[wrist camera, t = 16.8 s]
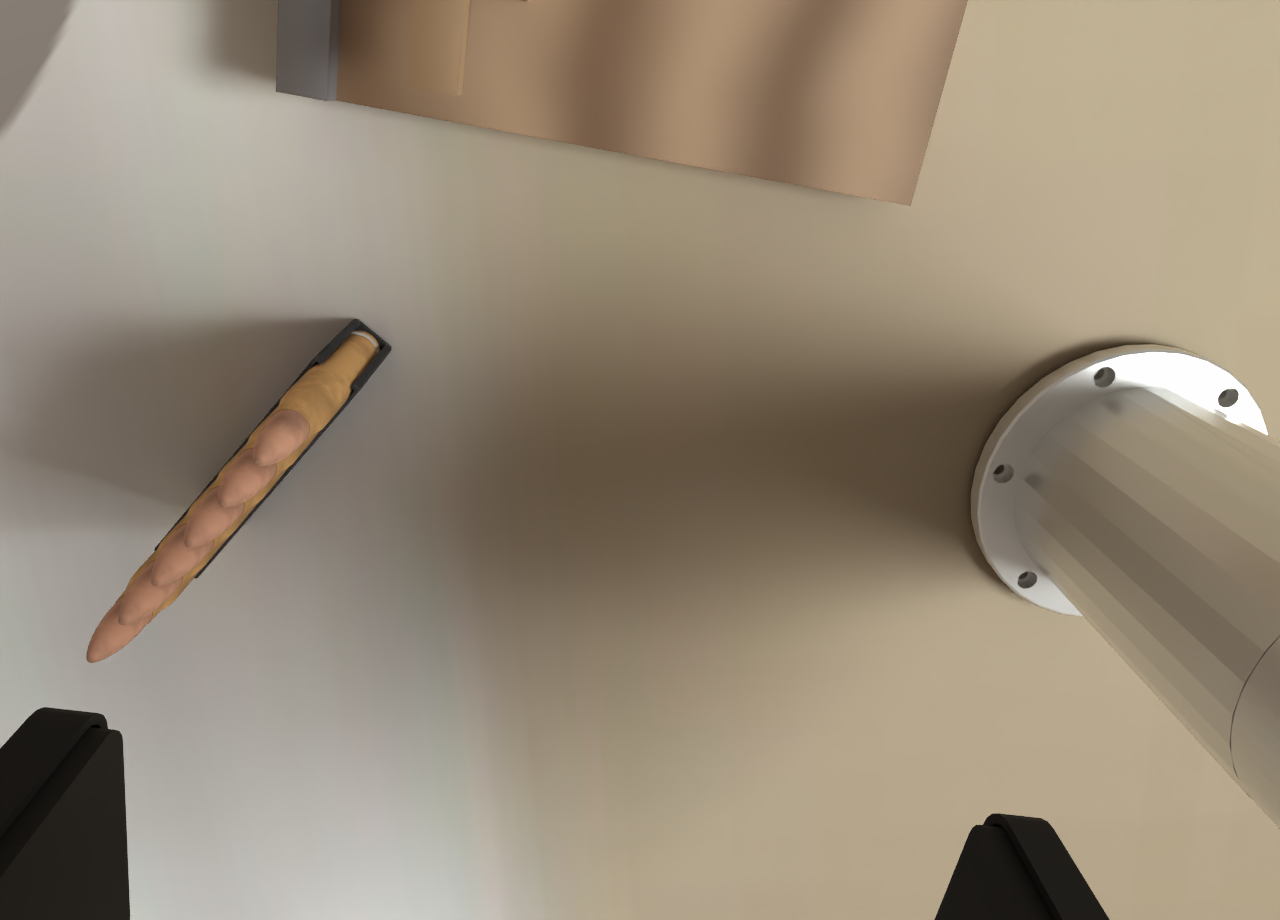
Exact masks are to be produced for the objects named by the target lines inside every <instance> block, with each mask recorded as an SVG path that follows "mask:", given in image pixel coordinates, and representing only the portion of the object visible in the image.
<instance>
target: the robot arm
mask: <svg viewBox="0 0 1280 920" xmlns="http://www.w3.org/2000/svg"><path fill="white" fill-rule="evenodd" d="M1097 371H1098V373H1097V374H1096V372H1097ZM1095 374H1096V375H1095ZM998 466H999V468H998V469H996V468H997V467H998ZM995 469H996V470H995ZM971 520H972V524H973V528H974V532H975V536H976V541H977V543H978V545H979V547H980V549H981V551H982V553H983V555H984V557H985V559H986V561H987V562H988V563H989V565H990V566H991V567H992V568H993V570H994V571H995V572H996V573H997V575H998V576H999V577H1000V579H1001V580H1002V581H1003V582H1004V583H1005V584H1006V585H1007V586H1008V587H1009V588H1010V589H1011V590H1012V591H1013V592H1015V593H1016V594H1017V595H1019V596H1021V597H1022V598H1024V599H1026V600H1027V601H1029V602H1031V603H1033V604H1034V605H1036V606H1038V607H1041V608H1044V609H1047V610H1050V611H1053V612H1056V613H1059V614H1065V615H1072V616H1079V617H1085V619H1086V620H1087V621H1088V622H1089V623H1090V624H1091V625H1092V626H1093V627H1094V628H1095V629H1096V631H1097V632H1098V633H1099V634H1100V635H1101V636H1102V637H1103V638H1104V639H1105V640H1106V641H1107V642H1108V644H1109V645H1110V646H1111V647H1112V648H1113V649H1114V650H1115V651H1116V652H1117V653H1118V654H1119V656H1120V657H1121V658H1122V659H1123V660H1124V661H1125V662H1126V663H1127V664H1128V665H1129V666H1130V668H1131V669H1132V670H1133V671H1134V672H1135V673H1136V674H1137V675H1138V676H1139V677H1140V678H1141V680H1142V681H1143V682H1144V683H1145V684H1146V685H1147V686H1148V687H1149V688H1150V689H1151V690H1152V692H1153V693H1154V694H1155V695H1156V696H1157V697H1158V698H1159V699H1160V700H1161V701H1162V702H1163V704H1164V705H1165V706H1166V707H1167V708H1168V709H1169V710H1170V711H1171V712H1172V713H1173V714H1174V716H1175V717H1176V718H1177V719H1178V720H1179V721H1180V722H1181V723H1182V724H1183V725H1184V726H1185V728H1186V729H1187V730H1188V731H1189V732H1190V733H1191V734H1192V735H1193V736H1194V737H1195V738H1196V740H1197V741H1198V742H1199V743H1200V744H1201V745H1202V746H1203V747H1204V748H1205V749H1206V750H1207V752H1208V753H1209V754H1210V755H1211V756H1212V757H1213V758H1214V759H1215V760H1216V761H1217V762H1218V764H1219V765H1220V766H1221V767H1222V768H1223V769H1224V770H1225V771H1226V772H1227V773H1228V774H1229V775H1230V777H1231V778H1232V779H1233V780H1234V781H1235V782H1236V783H1237V784H1238V785H1239V786H1240V787H1241V788H1242V789H1243V791H1244V792H1245V793H1246V794H1247V795H1248V796H1249V797H1250V798H1252V799H1253V801H1254V802H1255V803H1256V804H1257V805H1258V806H1259V807H1260V808H1261V809H1262V810H1263V811H1264V813H1265V814H1266V815H1267V816H1268V817H1269V818H1270V819H1271V820H1272V821H1273V822H1274V823H1275V824H1276V825H1277V826H1278V828H1279V829H1280V441H1278V440H1276V439H1274V438H1272V437H1270V436H1268V430H1267V427H1266V424H1265V421H1264V418H1263V415H1262V412H1261V409H1260V407H1259V405H1258V404H1257V402H1256V401H1255V399H1254V398H1253V396H1252V395H1251V393H1250V392H1249V390H1248V389H1247V387H1246V386H1245V385H1244V384H1243V383H1241V382H1240V381H1239V380H1238V379H1237V378H1236V377H1235V376H1234V375H1233V374H1232V373H1231V372H1229V371H1228V370H1226V369H1225V368H1223V367H1221V366H1219V365H1217V364H1215V363H1214V362H1212V361H1210V360H1208V359H1206V358H1204V357H1201V356H1199V355H1196V354H1194V353H1191V352H1189V351H1186V350H1183V349H1180V348H1174V347H1168V346H1162V345H1156V344H1146V345H1124V346H1120V347H1115V348H1110V349H1105V350H1100V351H1097V352H1094V353H1091V354H1089V355H1086V356H1084V357H1081V358H1079V359H1076V360H1074V361H1071V362H1069V363H1067V364H1066V365H1064V366H1062V367H1060V368H1059V369H1057V370H1055V371H1054V372H1052V373H1050V374H1049V375H1047V376H1045V377H1044V378H1042V379H1041V380H1040V381H1039V382H1037V383H1036V384H1035V385H1034V386H1033V387H1031V388H1030V389H1029V390H1028V391H1027V392H1025V393H1024V394H1023V395H1022V396H1021V397H1020V398H1019V399H1018V400H1017V401H1016V402H1015V403H1014V404H1013V406H1012V407H1011V408H1010V409H1009V410H1008V411H1007V412H1006V414H1005V415H1004V416H1003V417H1002V418H1001V419H1000V421H999V422H998V424H997V426H996V427H995V429H994V431H993V432H992V434H991V436H990V437H989V439H988V440H987V442H986V444H985V446H984V449H983V451H982V454H981V456H980V459H979V461H978V464H977V466H976V469H975V474H974V479H973V485H972V490H971ZM0 920H130V903H129V879H128V855H127V831H126V806H125V782H124V758H123V740H122V735H121V733H120V731H117V730H111V729H108V726H107V721H106V719H105V717H104V715H102V714H99V713H91V712H82V711H73V710H64V709H55V708H46V707H44V708H41V709H38V710H36V711H35V712H34V713H33V714H32V715H31V716H29V718H28V719H27V720H26V721H25V722H24V723H23V724H22V725H21V726H20V728H19V729H18V730H17V731H16V732H15V733H14V734H13V735H12V736H11V737H10V739H9V740H8V741H7V742H6V743H5V744H4V745H3V746H2V747H1V749H0ZM935 920H1109V918H1108V917H1107V915H1106V913H1105V912H1104V910H1103V908H1102V907H1101V905H1100V904H1099V902H1098V900H1097V899H1096V897H1095V895H1094V894H1093V892H1092V891H1091V889H1090V887H1089V886H1088V884H1087V882H1086V881H1085V879H1084V878H1083V876H1082V874H1081V873H1080V871H1079V869H1078V868H1077V866H1076V864H1075V863H1074V861H1073V860H1072V858H1071V856H1070V855H1069V853H1068V851H1067V850H1066V848H1065V847H1064V845H1063V843H1062V842H1061V840H1060V838H1059V837H1058V835H1057V834H1056V832H1055V830H1054V829H1053V828H1052V826H1051V825H1050V824H1049V823H1048V822H1047V821H1045V820H1043V819H1042V818H1033V817H1024V816H1015V815H1006V814H991V815H990V816H989V817H987V819H986V820H985V822H984V824H983V825H976V826H974V827H973V828H972V830H971V831H970V833H969V836H968V838H967V840H966V843H965V845H964V848H963V850H962V853H961V855H960V858H959V860H958V863H957V865H956V868H955V870H954V873H953V875H952V878H951V880H950V883H949V885H948V888H947V890H946V893H945V895H944V898H943V900H942V903H941V905H940V908H939V910H938V913H937V915H936V918H935Z"/></svg>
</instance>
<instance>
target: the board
mask: <svg viewBox="0 0 1280 920" xmlns="http://www.w3.org/2000/svg"><path fill="white" fill-rule="evenodd" d="M967 1H968V0H528V2H525V1H520V0H472V2H471V12H470V22H469V32H468V42H467V53H466V63H465V73H464V83H463V93H462V95H459V96H452V95H446V94H441V93H436V92H431V91H425V90H420V89H415V88H410V87H406V85H407V72H408V59H409V45H410V32H411V19H412V6H413V0H279V1H278V39H277V76H276V92H281V93H287V94H292V95H298V96H303V97H309V98H314V99H319V100H325V101H332V100H337V101H343V102H348V103H354V104H359V105H364V106H370V107H375V108H381V109H386V110H392V111H397V112H403V113H408V114H413V115H419V116H424V117H430V118H435V119H441V120H446V121H451V122H457V123H462V124H468V125H473V126H479V127H484V128H490V129H495V130H500V131H506V132H511V133H517V134H522V135H528V136H533V137H539V138H544V139H549V140H555V141H560V142H566V143H571V144H577V145H582V146H587V147H593V148H598V149H604V150H609V151H615V152H620V153H626V154H631V155H636V156H642V157H647V158H653V159H658V160H664V161H669V162H674V163H680V164H685V165H691V166H696V167H702V168H707V169H713V170H718V171H723V172H729V173H734V174H740V175H745V176H751V177H756V178H762V179H767V180H772V181H778V182H783V183H789V184H794V185H800V186H805V187H810V188H816V189H821V190H827V191H832V192H838V193H843V194H849V195H854V196H859V197H865V198H870V199H876V200H881V201H887V202H892V203H898V204H903V205H908V206H911V202H912V199H913V195H914V191H915V188H916V184H917V181H918V177H919V173H920V170H921V166H922V163H923V159H924V156H925V152H926V148H927V145H928V141H929V138H930V134H931V130H932V127H933V123H934V120H935V116H936V112H937V109H938V105H939V102H940V98H941V95H942V91H943V87H944V84H945V80H946V77H947V73H948V69H949V66H950V62H951V59H952V55H953V51H954V48H955V44H956V41H957V37H958V34H959V30H960V26H961V23H962V19H963V16H964V12H965V8H966V5H967Z"/></svg>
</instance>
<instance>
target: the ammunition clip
mask: <svg viewBox="0 0 1280 920" xmlns="http://www.w3.org/2000/svg"><path fill="white" fill-rule="evenodd" d="M390 351H391V346H390V345H389V344H388V343H386V342H385V341H384V340H383V339H381V338H380V337H379V336H378V335H377V334H375V333H374V332H373V331H372V330H370V329H369V328H368V327H367V326H366V325H364V324H363V323H362V322H361V321H359V320H358V319H354V320H353V321H352V322H351V323H350V324H349V325H348V326H347V327H346V328H345V329H344V330H342V331H341V332H340V333H339V334H338V335H337V336H336V337H335V338H334V339H333V340H332V341H331V342H330V343H329V344H328V345H327V346H326V347H325V348H324V349H323V350H322V351H321V352H320V353H319V354H318V355H317V356H316V357H315V358H314V359H313V360H312V361H311V362H310V364H309V365H308V366H307V367H306V368H305V370H304V371H303V372H302V373H301V374H300V376H299V377H298V378H297V379H296V380H295V382H294V383H293V384H292V385H291V386H290V388H289V389H288V390H287V391H286V392H285V393H284V395H283V396H282V397H281V398H280V399H279V401H278V402H277V403H276V404H275V405H274V407H273V408H272V409H271V410H270V411H269V413H268V414H267V415H266V416H265V417H264V419H263V420H262V421H261V422H260V423H259V425H258V426H257V427H256V428H255V429H254V431H253V432H252V433H251V434H250V435H249V437H248V438H247V439H246V440H245V441H244V442H243V444H242V445H241V446H240V447H239V448H238V450H237V451H236V452H235V453H234V454H233V456H232V457H231V458H230V459H229V460H228V462H227V463H226V464H225V465H224V466H223V468H222V469H221V470H220V471H219V472H218V474H217V475H216V476H215V477H214V478H213V480H212V481H211V482H210V483H209V484H208V486H207V487H206V488H205V489H204V490H203V491H202V493H201V494H200V495H199V496H198V497H197V499H196V500H195V501H194V502H193V503H192V505H191V506H190V507H189V508H188V509H187V511H186V512H185V513H184V514H183V515H182V517H181V518H180V519H179V520H178V521H177V523H176V524H175V525H174V526H173V527H172V529H171V530H170V531H169V532H168V533H167V535H166V536H165V537H164V538H163V539H162V540H161V542H160V543H159V544H158V545H157V546H156V548H155V550H154V551H155V552H154V553H153V554H152V555H151V556H150V557H149V558H148V560H147V561H146V562H145V563H144V564H143V565H142V566H141V567H140V568H139V569H138V570H137V572H136V573H135V574H134V575H133V577H132V578H131V580H130V582H129V584H128V586H127V588H126V590H125V591H124V593H123V594H122V595H121V596H120V597H119V599H118V600H117V601H116V603H115V605H114V606H113V607H112V608H111V609H110V610H109V611H108V613H107V614H106V615H105V616H104V618H103V619H102V621H101V622H100V624H99V625H98V627H97V628H96V630H95V632H94V634H93V636H92V638H91V641H90V643H89V646H88V650H87V661H88V662H90V663H94V662H97V661H100V660H103V659H105V658H107V657H109V656H110V655H112V654H114V653H115V652H117V651H118V650H120V649H121V648H123V647H124V646H125V645H127V644H128V643H129V642H130V641H131V640H132V639H133V638H134V637H136V636H137V635H138V633H139V632H140V631H141V630H142V629H143V628H144V627H145V626H146V624H148V623H149V622H150V621H151V620H152V619H153V618H154V617H155V616H156V615H157V614H158V613H159V612H160V611H162V610H163V609H165V608H166V607H168V606H169V605H170V604H172V603H173V602H174V601H175V600H176V599H177V597H178V596H179V595H180V594H181V593H182V591H183V590H184V589H185V588H186V587H187V585H188V584H189V583H190V582H191V581H192V580H193V578H198V577H199V576H200V575H201V573H202V572H203V571H204V570H205V569H206V568H207V566H208V565H209V564H210V563H211V562H212V561H213V559H214V558H215V557H216V556H217V555H218V554H219V553H220V551H221V550H222V549H223V548H224V547H225V546H226V544H227V543H228V542H229V541H230V540H231V539H232V538H233V536H234V535H235V534H236V533H237V532H238V531H239V529H240V528H241V527H242V526H243V525H244V524H245V522H246V521H247V520H248V519H249V518H250V517H251V516H252V514H253V513H254V512H255V511H256V510H257V509H258V507H259V506H260V505H261V504H262V503H263V502H264V501H265V499H266V498H267V497H268V496H269V495H270V494H271V492H272V491H273V490H274V489H275V488H276V487H277V485H278V484H279V483H280V482H281V481H282V480H283V479H284V477H285V476H286V475H287V474H288V473H289V472H290V470H291V469H292V468H293V467H294V466H295V465H296V464H297V462H298V461H299V460H300V459H301V458H302V457H303V455H304V454H305V453H306V452H307V451H308V450H309V448H310V447H311V446H312V445H313V444H314V443H315V442H316V440H317V439H318V438H319V437H320V436H321V435H322V433H323V432H324V431H325V430H326V429H327V428H328V427H329V425H330V424H331V423H332V422H333V421H334V420H335V418H336V417H337V416H338V415H339V414H340V413H341V411H342V410H343V409H344V408H345V407H346V406H347V405H348V403H349V402H350V401H351V400H352V399H353V398H354V396H355V395H356V394H357V393H358V392H359V391H360V389H361V388H362V387H363V386H364V384H365V383H366V382H367V380H368V379H369V378H370V377H371V375H372V374H373V373H374V372H375V370H376V369H377V368H378V367H379V365H380V364H381V363H382V361H383V360H384V359H385V358H386V356H387V355H388V354H389V353H390Z"/></svg>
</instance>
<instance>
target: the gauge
mask: <svg viewBox="0 0 1280 920" xmlns="http://www.w3.org/2000/svg"><path fill="white" fill-rule="evenodd" d="M520 1H525V2H528V0H520ZM471 2H472V0H413V6H412V19H411V32H410V45H409V59H408V72H407V85H406V87H410V88H415V89H420V90H425V91H431V92H436V93H441V94H446V95H452V96H459V95H462V93H463V83H464V73H465V63H466V53H467V42H468V32H469V22H470V12H471Z"/></svg>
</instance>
